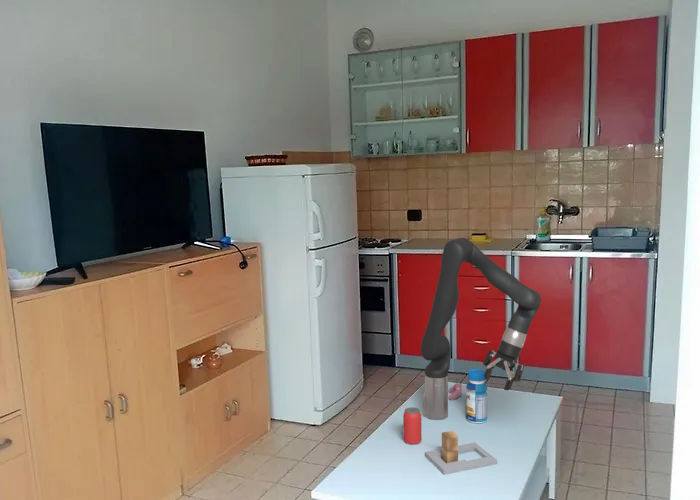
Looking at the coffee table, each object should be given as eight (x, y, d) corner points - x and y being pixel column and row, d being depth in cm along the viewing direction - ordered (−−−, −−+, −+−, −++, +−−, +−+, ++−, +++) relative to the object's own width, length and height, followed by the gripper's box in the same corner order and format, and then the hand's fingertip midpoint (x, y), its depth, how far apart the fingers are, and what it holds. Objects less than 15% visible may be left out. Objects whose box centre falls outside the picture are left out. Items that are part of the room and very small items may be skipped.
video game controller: (457, 404, 252) (464, 390, 251) (447, 399, 252) (455, 385, 251) (456, 395, 262) (463, 382, 261) (447, 391, 262) (454, 378, 261)
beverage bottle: (486, 425, 226) (486, 375, 224) (464, 422, 229) (464, 373, 226) (488, 417, 234) (488, 369, 231) (467, 414, 237) (467, 367, 234)
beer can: (423, 439, 215) (423, 408, 214) (418, 446, 209) (417, 414, 208) (407, 436, 218) (406, 405, 217) (401, 443, 212) (400, 412, 211)
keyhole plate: (474, 446, 208) (474, 442, 208) (496, 463, 195) (496, 459, 195) (424, 456, 202) (424, 451, 202) (443, 474, 189) (443, 470, 189)
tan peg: (452, 458, 200) (452, 430, 199) (457, 463, 196) (457, 435, 195) (441, 460, 199) (441, 432, 198) (447, 465, 195) (447, 437, 194)
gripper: (490, 333, 207) (474, 375, 208) (524, 349, 197) (507, 393, 198) (501, 335, 212) (485, 376, 213) (534, 351, 202) (518, 394, 203)
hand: (496, 384), depth 206 cm, fingers open, 8 cm apart
